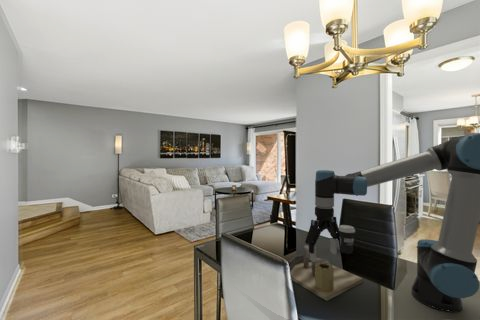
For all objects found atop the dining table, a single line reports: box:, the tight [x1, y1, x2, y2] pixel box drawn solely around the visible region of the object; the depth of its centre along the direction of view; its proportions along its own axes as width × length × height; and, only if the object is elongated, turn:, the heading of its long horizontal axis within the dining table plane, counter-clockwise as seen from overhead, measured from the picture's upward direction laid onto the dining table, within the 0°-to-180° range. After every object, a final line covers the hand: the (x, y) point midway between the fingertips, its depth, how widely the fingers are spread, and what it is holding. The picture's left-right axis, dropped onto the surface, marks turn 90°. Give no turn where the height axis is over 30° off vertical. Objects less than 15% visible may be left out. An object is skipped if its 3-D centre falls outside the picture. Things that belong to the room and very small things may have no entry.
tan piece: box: [315, 262, 334, 292], centre depth 97 cm, size 7×7×9 cm
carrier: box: [287, 244, 364, 302], centre depth 109 cm, size 28×26×12 cm
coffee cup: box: [338, 224, 356, 255], centre depth 138 cm, size 10×10×15 cm
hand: (323, 257), depth 97 cm, fingers open, 13 cm apart
